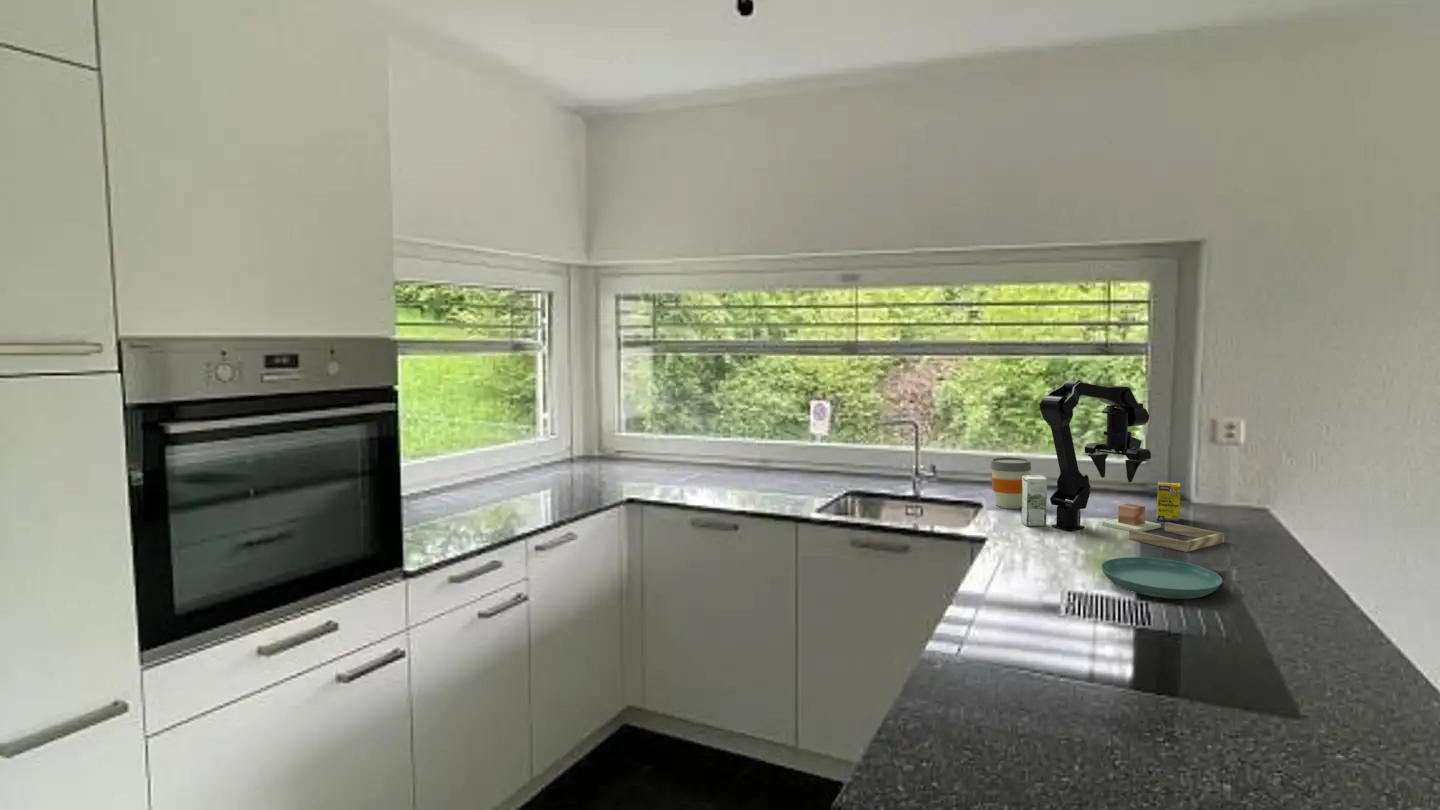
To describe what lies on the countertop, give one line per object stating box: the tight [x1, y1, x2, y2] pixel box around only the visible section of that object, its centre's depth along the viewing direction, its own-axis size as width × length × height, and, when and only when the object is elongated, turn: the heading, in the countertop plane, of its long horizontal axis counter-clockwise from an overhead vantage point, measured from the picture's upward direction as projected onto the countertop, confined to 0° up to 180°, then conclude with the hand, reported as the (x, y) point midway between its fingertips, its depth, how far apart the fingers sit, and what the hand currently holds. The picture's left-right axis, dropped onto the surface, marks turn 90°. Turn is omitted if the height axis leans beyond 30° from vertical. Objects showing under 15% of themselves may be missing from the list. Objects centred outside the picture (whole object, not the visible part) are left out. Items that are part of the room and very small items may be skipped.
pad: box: [1101, 518, 1162, 532], centre depth 242 cm, size 11×11×1 cm
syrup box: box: [1021, 474, 1048, 527], centre depth 246 cm, size 6×6×14 cm
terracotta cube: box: [1117, 503, 1146, 526], centre depth 242 cm, size 5×5×5 cm
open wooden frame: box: [1128, 521, 1225, 553], centre depth 225 cm, size 17×16×2 cm
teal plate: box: [1100, 556, 1223, 600], centre depth 188 cm, size 24×24×3 cm
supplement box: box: [1156, 481, 1181, 524], centre depth 248 cm, size 6×6×11 cm
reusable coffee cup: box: [990, 456, 1032, 509], centre depth 272 cm, size 13×12×15 cm
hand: (1116, 479), depth 249 cm, fingers open, 9 cm apart
